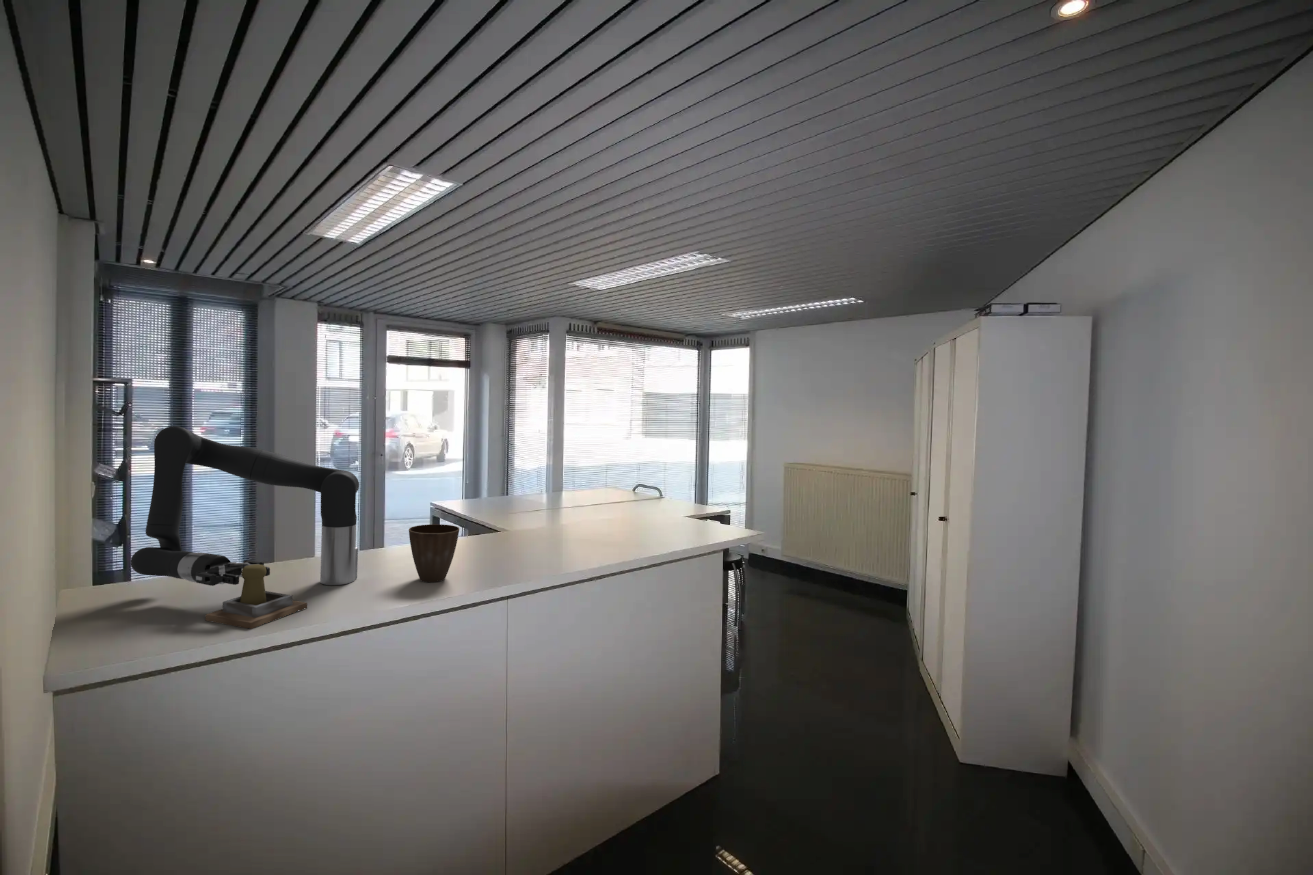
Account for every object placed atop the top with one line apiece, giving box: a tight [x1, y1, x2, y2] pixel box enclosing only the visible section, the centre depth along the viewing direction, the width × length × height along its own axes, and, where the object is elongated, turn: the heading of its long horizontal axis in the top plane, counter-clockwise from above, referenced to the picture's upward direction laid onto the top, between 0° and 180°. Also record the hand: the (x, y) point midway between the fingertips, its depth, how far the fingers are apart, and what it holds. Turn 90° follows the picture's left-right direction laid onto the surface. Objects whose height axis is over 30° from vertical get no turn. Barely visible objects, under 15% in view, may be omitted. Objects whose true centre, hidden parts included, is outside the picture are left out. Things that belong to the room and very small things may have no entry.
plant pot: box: [408, 523, 460, 583], centre depth 189 cm, size 15×15×16 cm
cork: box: [240, 564, 267, 605], centre depth 151 cm, size 6×6×11 cm
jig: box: [205, 590, 308, 630], centre depth 151 cm, size 16×14×4 cm
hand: (253, 575), depth 152 cm, fingers open, 8 cm apart
